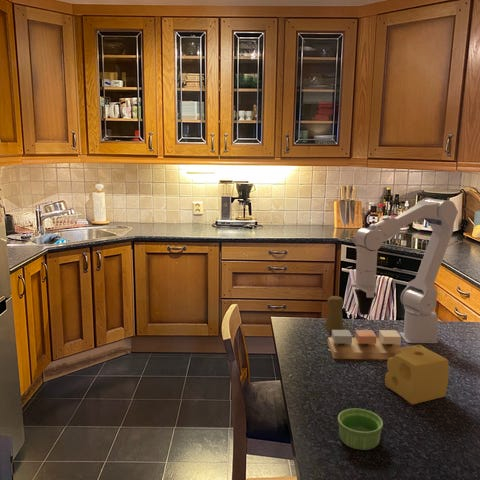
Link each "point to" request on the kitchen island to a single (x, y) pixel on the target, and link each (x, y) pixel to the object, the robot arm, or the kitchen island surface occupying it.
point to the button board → (362, 350)
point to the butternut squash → (334, 314)
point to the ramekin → (360, 428)
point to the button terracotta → (365, 336)
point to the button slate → (342, 336)
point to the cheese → (417, 374)
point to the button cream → (389, 337)
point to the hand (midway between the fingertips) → (363, 314)
